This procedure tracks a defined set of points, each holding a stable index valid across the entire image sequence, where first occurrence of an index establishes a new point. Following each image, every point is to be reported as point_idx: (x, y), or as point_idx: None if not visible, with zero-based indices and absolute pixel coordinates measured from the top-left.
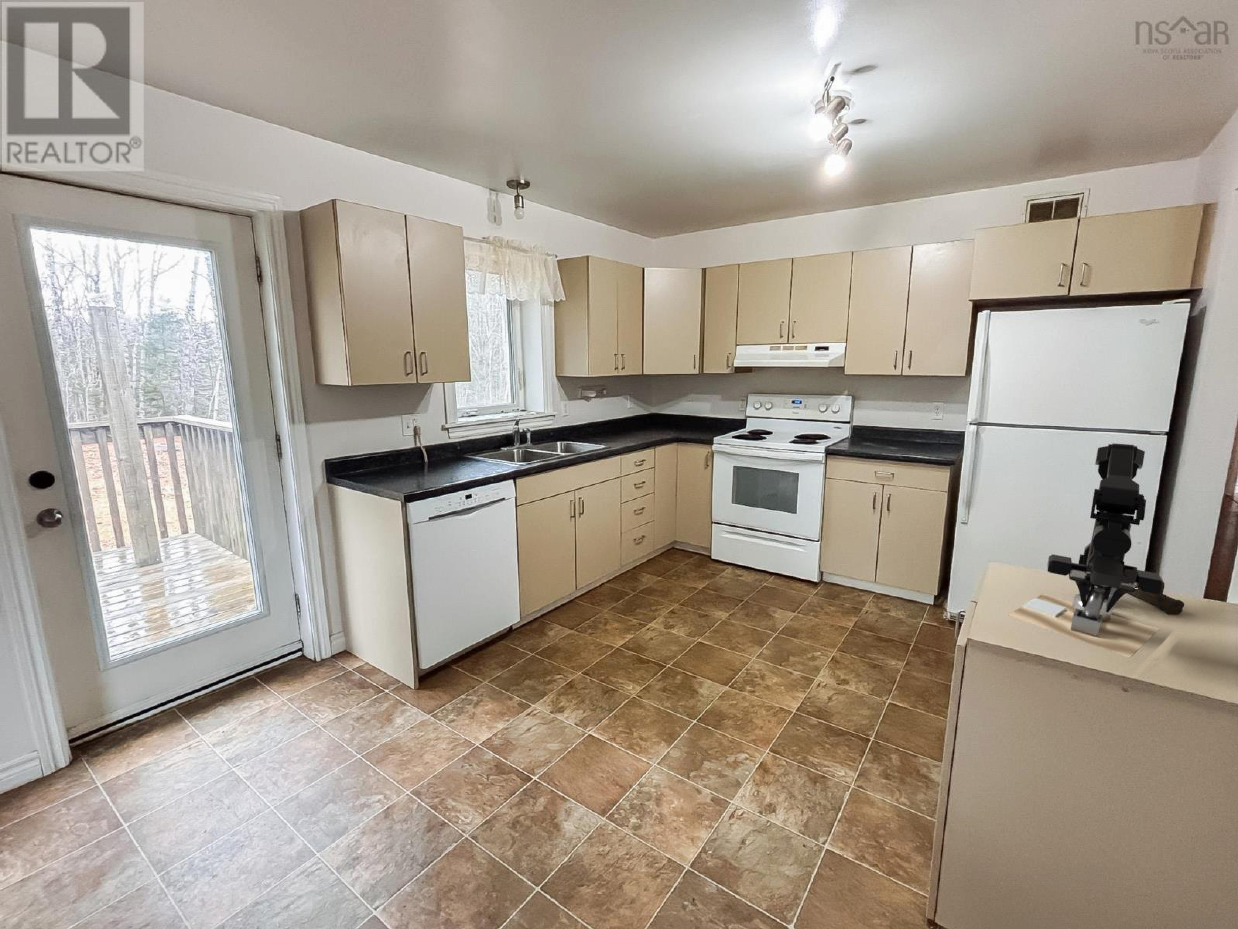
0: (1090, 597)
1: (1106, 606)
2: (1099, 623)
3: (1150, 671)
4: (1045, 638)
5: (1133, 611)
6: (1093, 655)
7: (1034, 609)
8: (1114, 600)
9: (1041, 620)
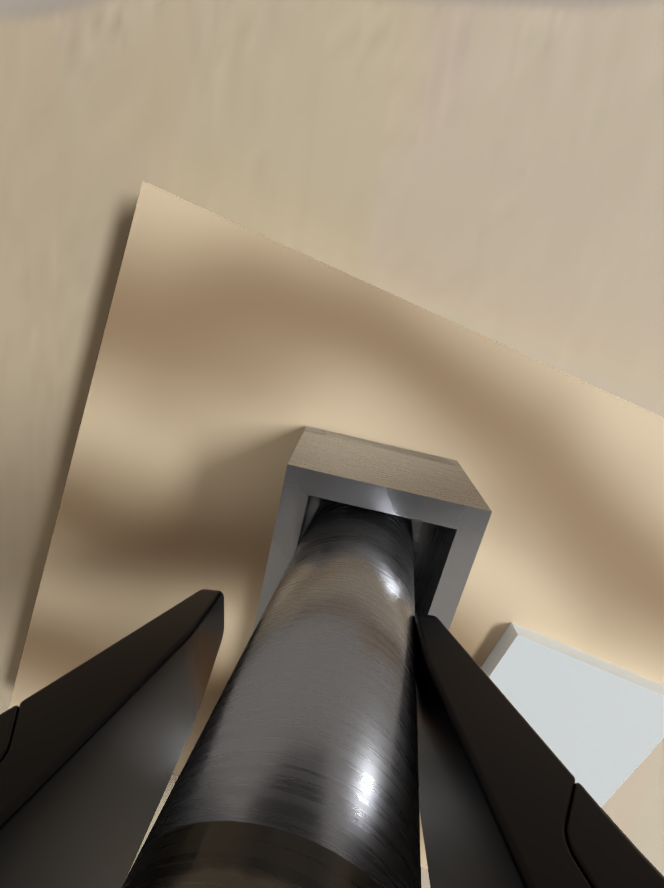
0: (395, 725)
1: (202, 661)
2: (292, 462)
3: (61, 162)
4: (607, 330)
5: None
6: (350, 215)
7: (625, 674)
8: (46, 713)
9: (618, 530)
